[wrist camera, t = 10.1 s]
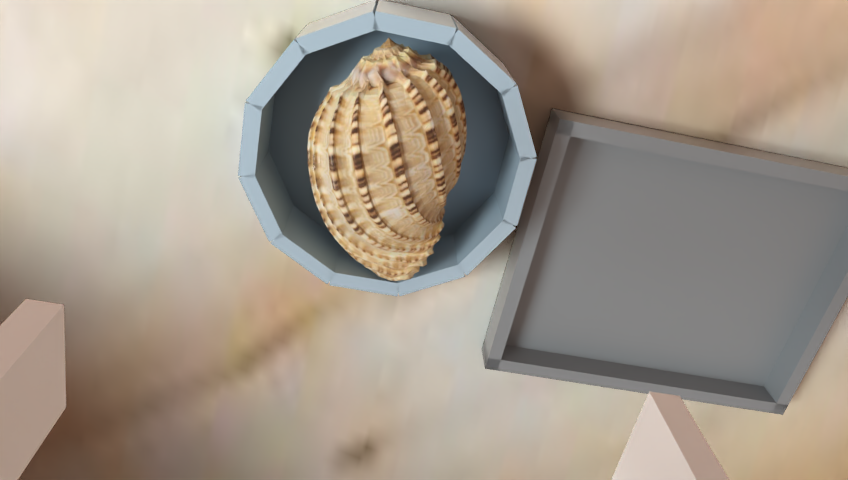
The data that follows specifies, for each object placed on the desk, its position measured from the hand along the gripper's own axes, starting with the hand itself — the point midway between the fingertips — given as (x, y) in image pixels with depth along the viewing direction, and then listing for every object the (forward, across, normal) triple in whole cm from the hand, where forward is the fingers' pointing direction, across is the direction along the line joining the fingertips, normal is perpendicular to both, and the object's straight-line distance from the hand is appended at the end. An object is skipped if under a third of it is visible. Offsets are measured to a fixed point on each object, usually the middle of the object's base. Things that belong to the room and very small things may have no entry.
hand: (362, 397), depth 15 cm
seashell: (+18, +1, 0) cm, 18 cm away
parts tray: (+19, +16, -4) cm, 25 cm away
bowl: (+19, 0, 0) cm, 19 cm away
